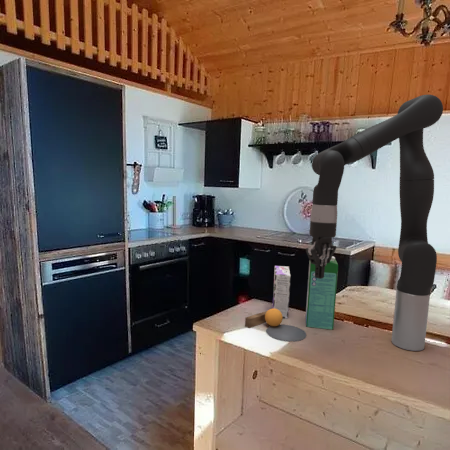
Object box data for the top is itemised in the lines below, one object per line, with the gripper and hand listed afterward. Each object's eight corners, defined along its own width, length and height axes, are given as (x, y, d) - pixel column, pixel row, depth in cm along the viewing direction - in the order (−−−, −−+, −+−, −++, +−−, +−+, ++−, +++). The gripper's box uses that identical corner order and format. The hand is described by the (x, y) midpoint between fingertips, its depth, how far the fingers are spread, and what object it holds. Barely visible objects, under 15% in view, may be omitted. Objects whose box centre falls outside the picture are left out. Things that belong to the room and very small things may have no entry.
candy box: (272, 305, 145) (274, 265, 143) (287, 306, 144) (289, 266, 142) (272, 317, 131) (274, 273, 129) (288, 318, 130) (291, 274, 128)
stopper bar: (271, 317, 131) (272, 309, 131) (276, 318, 130) (276, 310, 129) (245, 326, 122) (245, 317, 122) (249, 328, 120) (249, 319, 120)
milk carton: (333, 330, 122) (338, 257, 119) (306, 326, 123) (311, 255, 120) (330, 320, 130) (336, 252, 128) (305, 317, 132) (310, 250, 129)
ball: (274, 323, 127) (272, 306, 127) (287, 325, 122) (285, 307, 123) (262, 327, 123) (260, 309, 123) (275, 329, 118) (273, 311, 119)
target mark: (282, 322, 127) (282, 321, 127) (314, 334, 117) (314, 333, 117) (257, 331, 118) (257, 330, 118) (289, 345, 109) (289, 344, 109)
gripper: (321, 222, 98) (317, 284, 100) (346, 220, 107) (342, 277, 109) (299, 219, 103) (295, 278, 106) (324, 218, 112) (320, 272, 114)
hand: (319, 277), depth 107 cm, fingers closed
